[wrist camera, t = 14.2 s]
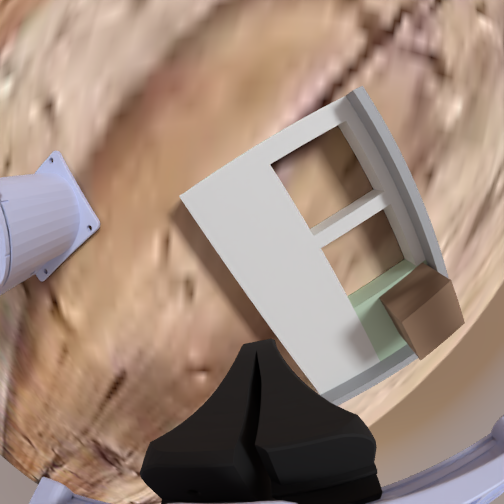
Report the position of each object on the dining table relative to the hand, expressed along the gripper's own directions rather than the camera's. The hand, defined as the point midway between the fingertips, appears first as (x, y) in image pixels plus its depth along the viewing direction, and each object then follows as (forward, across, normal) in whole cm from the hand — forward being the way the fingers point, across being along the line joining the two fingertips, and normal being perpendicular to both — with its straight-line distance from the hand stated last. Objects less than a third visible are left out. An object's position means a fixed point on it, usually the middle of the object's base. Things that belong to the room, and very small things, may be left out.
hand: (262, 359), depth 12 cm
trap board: (+10, -6, 0) cm, 12 cm away
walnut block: (+8, -12, +4) cm, 15 cm away
